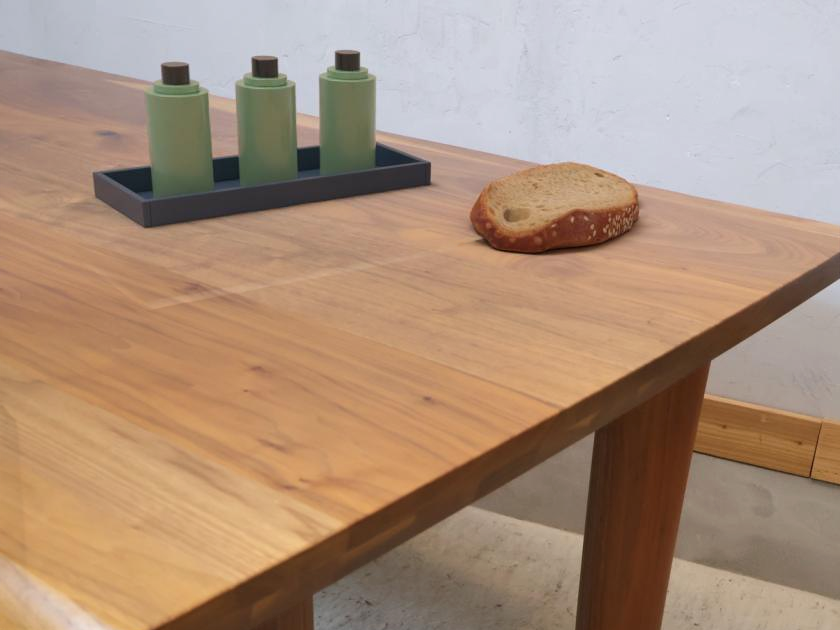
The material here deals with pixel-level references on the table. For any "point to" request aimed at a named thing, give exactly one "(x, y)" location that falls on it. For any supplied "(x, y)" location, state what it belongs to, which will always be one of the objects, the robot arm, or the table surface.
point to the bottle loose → (179, 133)
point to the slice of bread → (555, 208)
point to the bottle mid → (266, 124)
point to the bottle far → (347, 116)
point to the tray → (256, 187)
